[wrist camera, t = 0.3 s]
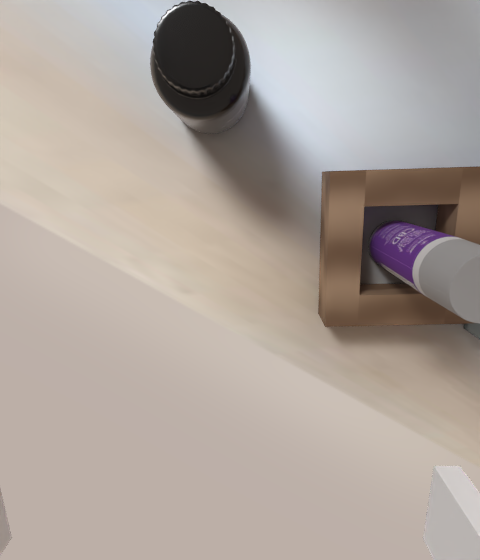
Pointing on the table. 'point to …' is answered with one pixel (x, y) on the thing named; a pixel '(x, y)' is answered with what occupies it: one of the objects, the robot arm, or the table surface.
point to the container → (431, 264)
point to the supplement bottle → (201, 67)
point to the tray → (473, 329)
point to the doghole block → (349, 232)
